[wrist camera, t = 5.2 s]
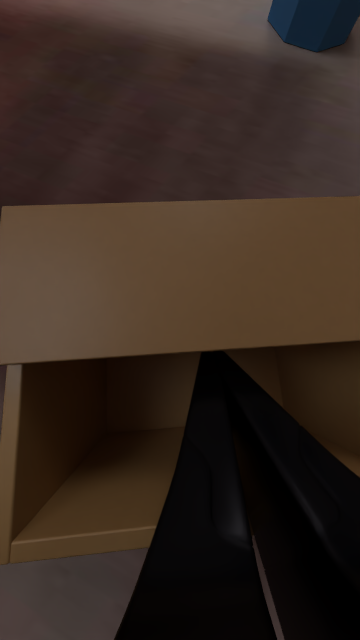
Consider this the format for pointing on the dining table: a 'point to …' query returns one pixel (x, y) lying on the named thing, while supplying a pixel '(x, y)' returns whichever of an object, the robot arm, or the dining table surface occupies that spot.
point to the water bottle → (314, 21)
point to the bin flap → (177, 277)
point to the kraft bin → (138, 439)
